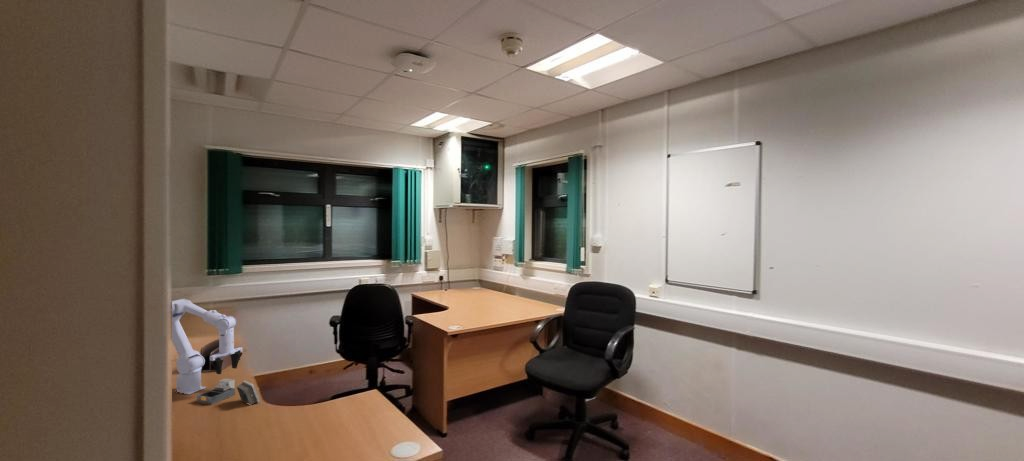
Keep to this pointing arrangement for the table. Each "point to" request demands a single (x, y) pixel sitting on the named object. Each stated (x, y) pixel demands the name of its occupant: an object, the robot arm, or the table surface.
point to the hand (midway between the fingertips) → (226, 370)
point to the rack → (216, 394)
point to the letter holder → (211, 350)
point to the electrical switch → (248, 393)
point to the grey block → (227, 382)
